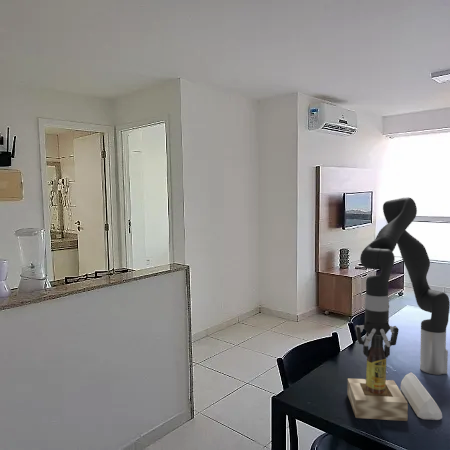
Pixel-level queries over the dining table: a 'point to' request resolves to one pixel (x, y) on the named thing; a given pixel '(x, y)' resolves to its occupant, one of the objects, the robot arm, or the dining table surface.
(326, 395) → the dining table surface
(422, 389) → the crystal
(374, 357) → the sauce bottle
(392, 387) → the socket block
